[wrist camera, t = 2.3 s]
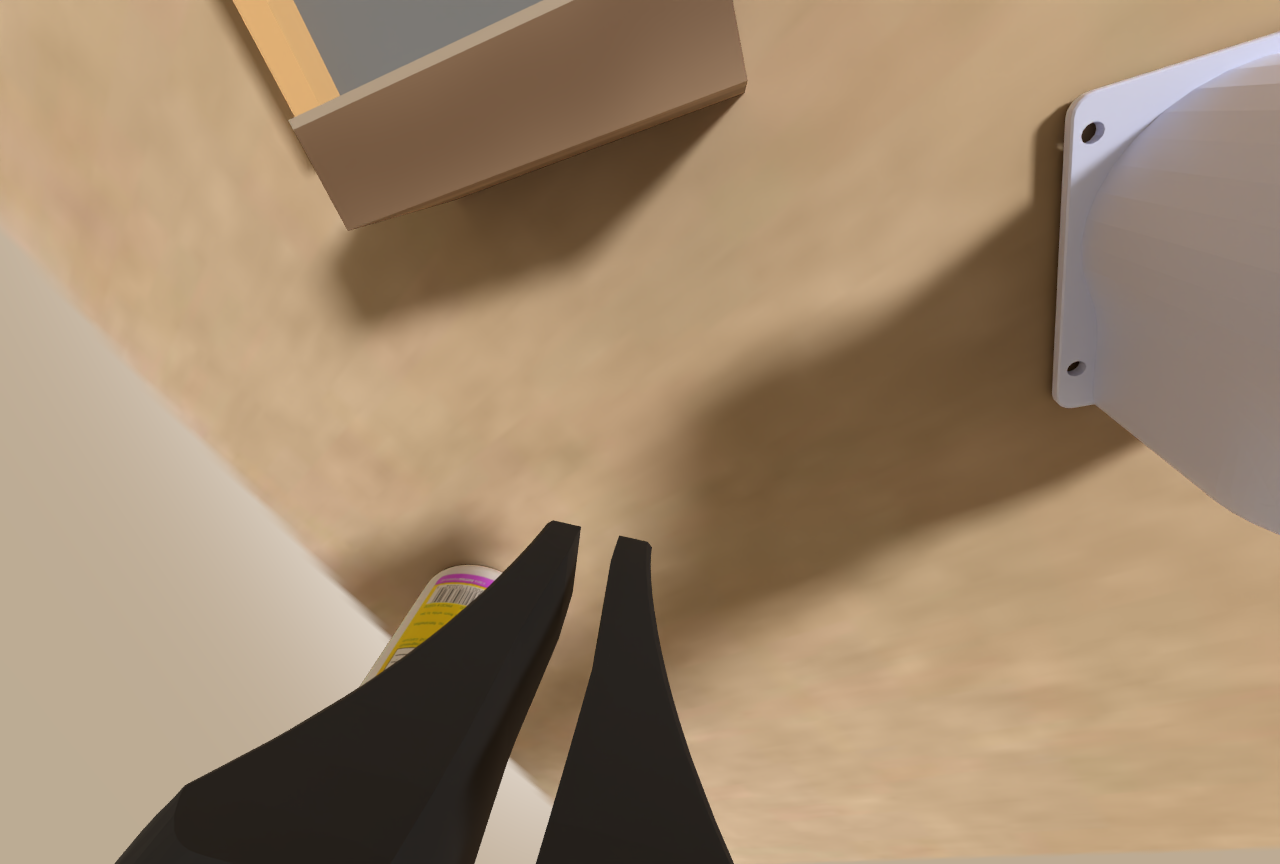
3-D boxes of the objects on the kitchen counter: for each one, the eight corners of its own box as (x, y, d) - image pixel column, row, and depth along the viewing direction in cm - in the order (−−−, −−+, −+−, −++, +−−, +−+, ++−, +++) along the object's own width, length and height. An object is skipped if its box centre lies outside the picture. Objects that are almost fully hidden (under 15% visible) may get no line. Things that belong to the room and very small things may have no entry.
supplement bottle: (494, 658, 31) (363, 948, 20) (406, 589, 29) (210, 869, 18) (572, 618, 28) (469, 932, 17) (481, 538, 26) (300, 835, 15)
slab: (744, 92, 16) (747, 80, 10) (456, 199, 18) (347, 230, 13) (724, -12, 14) (717, -82, 9) (421, 119, 17) (288, 120, 12)
